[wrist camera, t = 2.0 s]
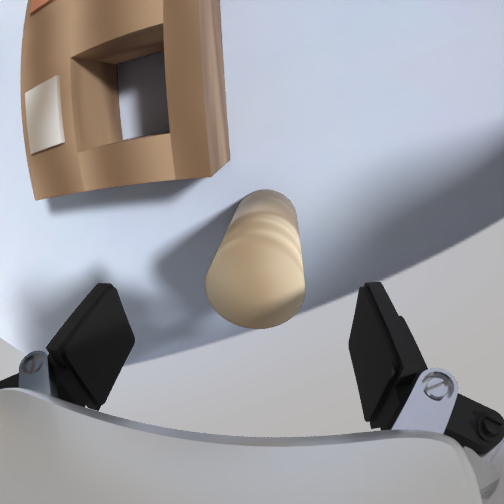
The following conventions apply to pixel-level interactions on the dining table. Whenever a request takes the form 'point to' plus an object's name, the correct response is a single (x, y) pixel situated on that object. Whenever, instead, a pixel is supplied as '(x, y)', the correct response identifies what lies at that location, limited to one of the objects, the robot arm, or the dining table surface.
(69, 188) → the socket block
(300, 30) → the dining table surface
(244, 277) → the peg
